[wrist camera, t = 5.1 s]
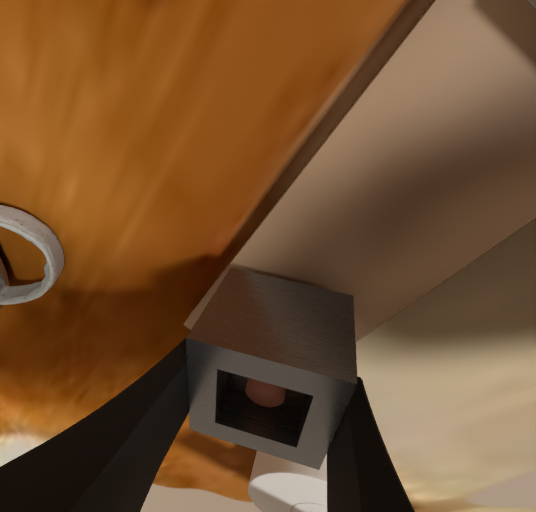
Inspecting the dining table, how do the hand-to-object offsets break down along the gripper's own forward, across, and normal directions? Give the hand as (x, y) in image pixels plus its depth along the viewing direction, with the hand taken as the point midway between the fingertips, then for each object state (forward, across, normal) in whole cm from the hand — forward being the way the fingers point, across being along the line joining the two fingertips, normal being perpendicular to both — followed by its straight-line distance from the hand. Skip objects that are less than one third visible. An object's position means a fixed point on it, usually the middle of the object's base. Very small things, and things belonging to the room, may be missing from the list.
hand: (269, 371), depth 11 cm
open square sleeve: (+2, 0, 0) cm, 2 cm away
